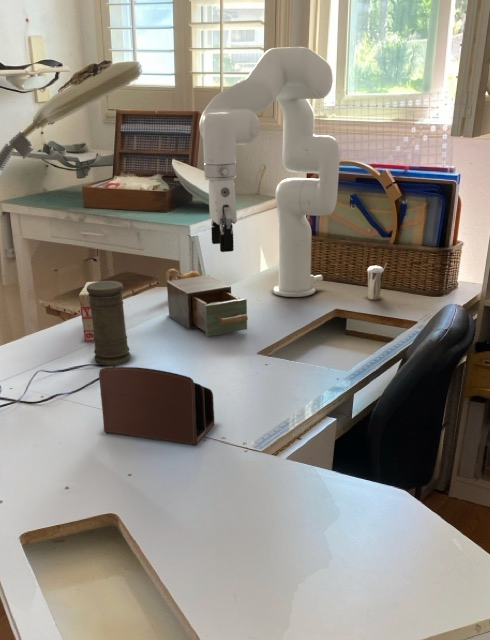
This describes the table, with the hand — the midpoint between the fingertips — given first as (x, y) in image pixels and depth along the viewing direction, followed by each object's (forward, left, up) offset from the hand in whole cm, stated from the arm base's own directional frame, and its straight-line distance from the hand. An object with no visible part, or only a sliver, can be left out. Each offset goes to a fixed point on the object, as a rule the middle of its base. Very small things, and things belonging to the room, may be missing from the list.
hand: (222, 247), depth 200 cm
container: (+32, -2, -22) cm, 39 cm away
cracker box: (+22, -26, -22) cm, 41 cm away
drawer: (-1, -3, -21) cm, 21 cm away
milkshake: (-53, +1, -22) cm, 57 cm away
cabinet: (-3, -16, -22) cm, 28 cm away
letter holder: (+45, +41, -22) cm, 65 cm away
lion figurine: (-13, -39, -22) cm, 46 cm away
